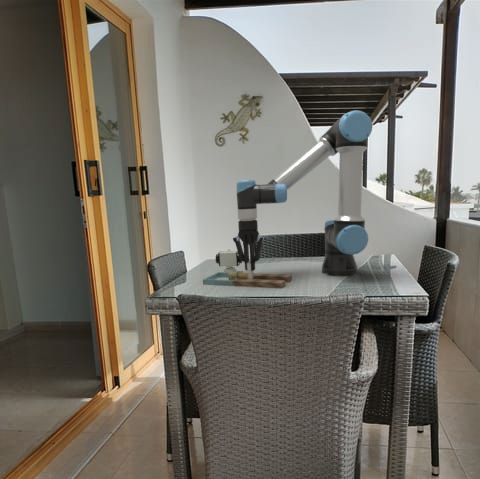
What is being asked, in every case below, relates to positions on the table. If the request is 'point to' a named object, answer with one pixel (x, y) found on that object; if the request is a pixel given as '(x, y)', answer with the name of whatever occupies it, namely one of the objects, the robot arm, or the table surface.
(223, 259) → the pneumatic valve
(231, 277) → the chip
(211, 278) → the tray
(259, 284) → the slot board
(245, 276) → the chip
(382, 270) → the table surface
